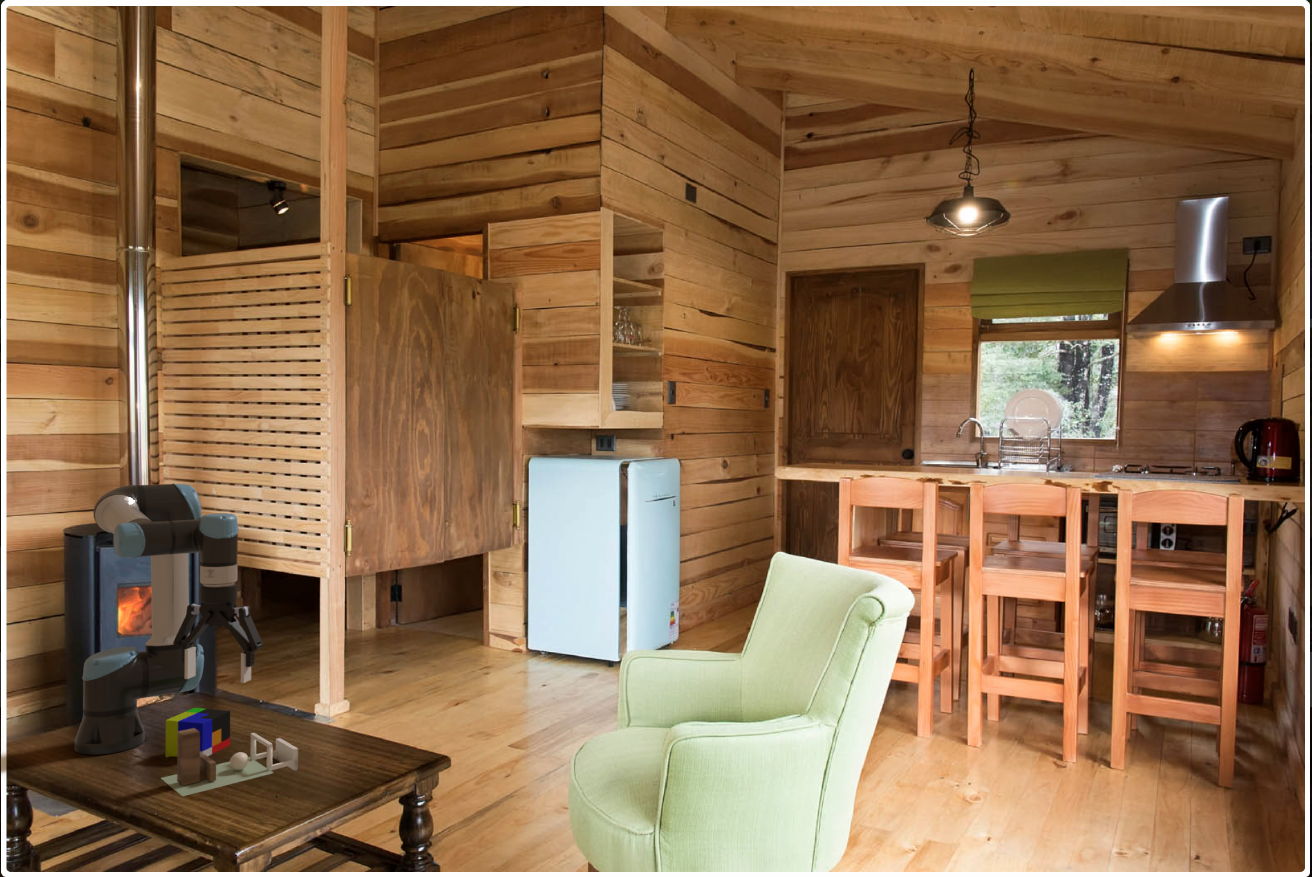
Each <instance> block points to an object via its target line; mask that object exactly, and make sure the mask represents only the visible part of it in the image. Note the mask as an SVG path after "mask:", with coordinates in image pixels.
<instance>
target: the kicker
mask: <svg viewBox="0 0 1312 877" xmlns="http://www.w3.org/2000/svg"><path fill="white" fill-rule="evenodd" d="M176 764H177V765H176V766H177V767H176V774H177V782H179V783H180V784H181V785H182V786H184V785H188V784H192V783H196V782H200V780H201V779H205V778H206V779H207V780H209V781H210V782H211V781H215V780H216V765H217V762H216V761H215V760H214V759H212V758H210V757H209V756H206V755H205V754H203V755H200V732H199V731H198V730H196V729H195V728H192V729H188V730H183V731H178V732H177V756H176Z"/></svg>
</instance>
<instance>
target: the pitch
mask: <svg viewBox="0 0 1312 877" xmlns="http://www.w3.org/2000/svg"><path fill="white" fill-rule="evenodd" d="M257 742H258V743H260V744H262V745H264V746H265V747H266V751H264V752H261V753H257ZM273 746H274V745H273V743H272V742H270V741H268V740H267V739H265V738H264V737H262V736H260V735H258V734H257V733H256V732H252V733H250V756H248V758H249V763H248V765H247V767H246V768H244V769H243V770H240V771H236V770H234V769H232V768H231V766H230V761H227V762H226V761H225V762H222V763H218V764H217V763H216V780H215V781H211V782H210V781H209V780H207V779H206V778H205V779H201V780H200V782H196V783H192V784H188V785H184V786H182V785H181V784H180V783H179V782H177V773H176V774H172V775H168V776H164V777H160V779H161V780H162V781H163V782H164V783H166V784H167V785H168V786H169V787H170V788H172V789H173V790H174V791H175V792H176V793H178V795H180V796H182V797H185V796H190V795H194V794H198V793H202V792H206V791H209V790H214V789H217V788H218V789H219V788H221V787H225V786H229V785H232V784H233V785H234V784H236V783H241V782H245V781H248V780H253V779H256V778H261V777H264V776H267V775H273V774H274V770H278V769H282V768H286V767H288V768H289V769H291V770H293V771H298V770H299V748H298V747H297V746H294V745H292V743H289V742H288V741H286V740H284V739H283V738H281V737H278V738H275V749H274V750H273V748H274V747H273ZM264 758H266V767H265V766H264V765H262V764H261V763H260V762H258V761H257V760H260V759H264ZM273 759H274V760H277V761H278V762H279V763H278V762H277V763H274V764H273Z"/></svg>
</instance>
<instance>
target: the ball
mask: <svg viewBox="0 0 1312 877" xmlns="http://www.w3.org/2000/svg"><path fill="white" fill-rule="evenodd" d="M248 757H249V756H248V755H247V753H245V752H242V751H241V752H240V751H239V752H236V753H234V754H233V755H232V756H231V757H230V760H229V762H230V766H231V768H232V769H234V770H236V771H240V770H243V769H244V768H246V767H247V765H248V763H249V758H248Z"/></svg>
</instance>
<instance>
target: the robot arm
mask: <svg viewBox="0 0 1312 877" xmlns="http://www.w3.org/2000/svg"><path fill="white" fill-rule="evenodd" d="M93 518H94V521H95V523H96V525H97V526H98V527H99V528H100V529H102V530H103V531H104V532H107V533H110V534H113V550H114V552H115V554H116V556H117V557H119V558H133V559H135V558H140V557H150V564H151V565H150V567H151V568H150V575H151V576H150V578H151V579H150V581H151V582H150V583H151V584H150V585H151V587H150V588H151V591H150V592H151V637H150V638H149V639H148V640H147V641H146V643H145V650H144V651H139V650H138V649H137V647H135V646H121V647H120V646H119V647H114V648H108V649H104V650H102V651H99V652H95V653H94V654H92V655H90V656H88V658H86V659H85V661H84V663H83V664H84V665H83V673H82V677H81V678H82V680H83V683H82V685H83V688H82V689H83V690H82V691H83V693H82V694H83V695H82V696H83V697H82V698H83V701H82V712H83V713H82V720H81V721H80V724H79V728H78V730H77V733H76V736H75V738H74V751H75V752H76V753H79V754H81V755H82V754H83V755H96V756H97V755H106V754H107V755H108V754H114V753H120V752H123V751H127V750H130V749H133V748H136V747H138V746H140V745H141V744H143V743H144V742H145V737H146V736H145V735H146V734H145V728H144V725H143V723H142V721H141V718H140V715H139V712H138V700H139V699H146V698H152V697H158V696H164V695H170V694H181V693H184V692H189V691H192V690H194V689H195V688H197V686H199V683H200V681H201V679H202V677H203V672H204V665H205V664H204V663H205V655H204V649H203V648H204V647H203V646H202V645H201V644H199V643H196V642H197V640H198V639H199V638H200V637H201V635H203V633H204V632H205V630H206V629H207V628H208V627H220V628H225V629H226V630H228V631H229V632H230V634H231V635H232V636H233V638H234V639H235V641H236V642H237V643H238V645H239V646H240V648H241V649H242V650H243V652H241V653H240V683H241V684H244V683H247V682H249V681H251V680H252V667H253V666H255V652H256V651H258V650H260V649H262V648H263V647H264V643H263V641H262V639H261V636H260V634H259V631H258V629H257V627H256V625H255V622H254V621H253V618H252V616H251V615H252V614H251V608H250V606H249V605H246V606H242V607H238V606H237V601H238V600H237V599H238V585H237V583H236V582H237V581H238V551H239V550H238V547H239V546H238V544H239V543H238V542H239V536H238V535H239V529H240V528H239V526H238V517H237V515H236V514H234V513H224V512H223V513H221V512H220V513H207V514H204V515H203V514H202V507H201V501H200V498H199V495H198V493H197V490H196V489H195V488H194V487H193V486H192V485H190V484H185V483H184V484H183V483H165V484H164V483H163V484H139V485H138V484H137V485H135V484H130V485H124V486H119V487H116V488H114V489H111V490H110V491H108V492H106V493H104V494H103V495H102V496H101V497H100V498H99V499H98V500H97V501H96V502H95V504H94V508H93ZM195 553H196V554H197V553H199V554H200V556H199V563H200V564H199V570H200V572H199V582H200V584H202V585H200V587H199V602H200V604H199V603H197V602H195V603H191V604H190V603H189V602H190V601H189V599H190V598H189V597H190V596H189V593H190V592H189V554H195ZM199 614H200V615H201V616H202V617H201V618H200V619H199V621H198V622H197V623H196V626H195V627H194V628H193V625H194V623H195V621H196V620H197V617H198V615H199ZM237 617H238V618H239V620H238V618H237ZM240 624H241V625H240ZM192 628H193V629H192ZM191 630H192V631H191Z"/></svg>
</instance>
